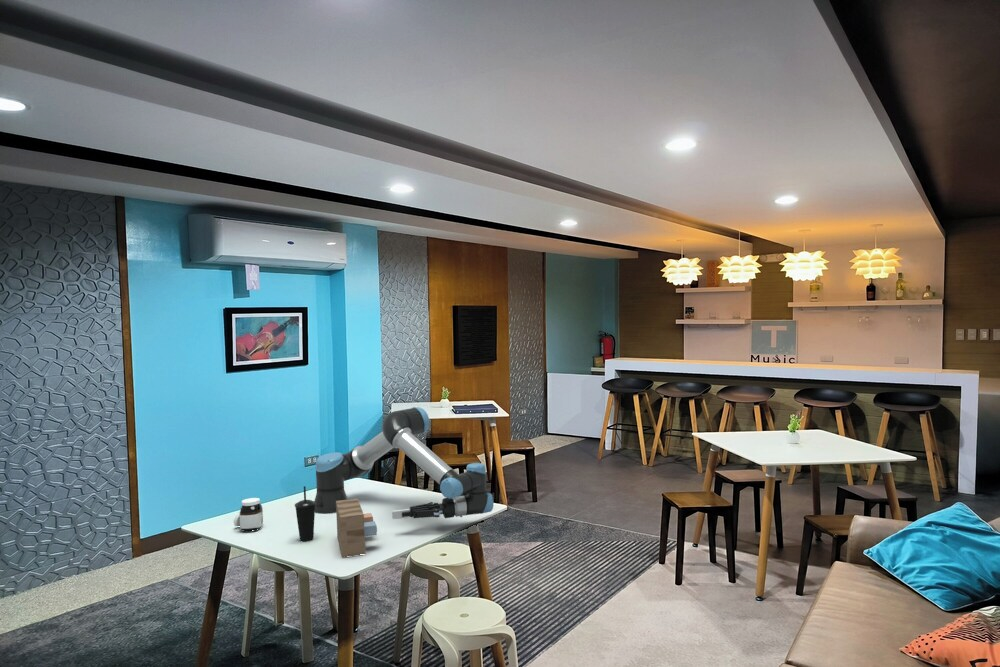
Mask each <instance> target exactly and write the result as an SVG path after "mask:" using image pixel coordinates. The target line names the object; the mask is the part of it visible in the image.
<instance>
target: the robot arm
mask: <svg viewBox="0 0 1000 667" xmlns="http://www.w3.org/2000/svg"><path fill="white" fill-rule="evenodd" d="M429 417H430V416H429V415H428V413H427V411H426V410H425V409H424V408H422V407H420V406H418V407H416V406H413V407H411V408H406V409H401V410H394V411H391V412H389V413H388V414H386V416H385V417H384V419H383V422H382V424H381V425H382V426H381V430H382V431H381V432H380V433H378V434H377V435H375V436H374V437H373V438H372V439H370V440H369V441H367V442H366V443H364V444H363V445H358V446H357V445H356V447H354V448H353V449H352V450H350V451H349V452H346V453H342V452H336V451H335V452H331V453H326V454H325V453H324V454H322V455H320V456H319V457H317V458H316V460H315V468H314V469H315V477H316V480H315V481H316V483H315V484H316V494H315V497H314V501H315V502H316V504H315V513H317V512H318V513H317V514H330V513H331V514H333V512H334V513H336V501H341V500H349V498H348V495H347V493H346V490H345V482H346V481H348V480H352V479H355V478H359V477H364V476H365V475H367V474H369V473H370V472H371V471H372V469H373V466H374V464H375V462H376V461H377V460H379V459H380V458H382V457H383V456H384V455H385V454H387V453H388V452H389V451H391V450H393V449H399V450H401V451H402V452H403V453H404V454H405V455H406V456H407V457H408V458H409V459H411V460H412V461H413V462H414V463H415V464H416V465H417V466H418V467H419V468H421V469H422V471H424V472H425V473H426V474H427V475H428V476H430V477H431V479H432V480H434V481H435V482H436V483H437V484H438V485H440V486H439V490H440V492H441V495H442V496H443V498H442V500H441V503H438V502H432V501H430V502H428V503H423V504H418V505H413V506H412V505H411V506H410V507H409V508H405V509H397V510H392V512H391V514H392V519H393V520H396V519H402V518H413V519H420V518H421V519H423V518H424V519H425V518H440V516H441V515H442V516H443V517H444V518H445V519H450V518H454V517H456V518H457V517H459V518H463V516H470V515H471V516H472V515H479V514H480V515H481V514H486V513H491V512H492V510H494V497H493V494H492V493H490V492H488V491H487V472H486V465H485V464H484V463H482V462H481V463H480V462H472V463H468V464H467V465H466V470H465V471H464V472H461V473H458V472H457V471H455V470H454V469H453V468H452V467H450V466H449V465H448V464H447V463H446V462H445V461H444V460H442V459H441V458H440V457H439V456H438V455H437V454H436V453H434V452H433V451H432V450H431V449H430V448H429V447H428V446H427V445H425V444H424V442H422V441H421V440H420V439H419V438H417V436H419V435H423V434H425V433H426V432H428V431H429V428H430V418H429ZM466 493H467V495H464V494H466Z"/></svg>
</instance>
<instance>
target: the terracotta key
mask: <svg viewBox="0 0 1000 667" xmlns="http://www.w3.org/2000/svg"><path fill="white" fill-rule="evenodd" d="M363 514H364V523H365V522H373V521H374V516H373V514H372V513H371V512H370V513H368V512H367V513H363Z"/></svg>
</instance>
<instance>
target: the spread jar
mask: <svg viewBox="0 0 1000 667" xmlns="http://www.w3.org/2000/svg"><path fill="white" fill-rule="evenodd" d="M263 512H264V511H263V506H262V504H261V499H260V498H259V497H250V498H245V499H243V500H241V507H240V511H239V512H237V514H236V515H235V517H234V519H233V526H235V527H236V526H240V527H239V528H240V530H241V531H242V530H244V531H252V530H257V529H260V528H261V527H262V528H263V526H264V513H263ZM262 528H261V529H262ZM261 529H260V530H261ZM244 531H243V532H244ZM257 531H258V530H257Z"/></svg>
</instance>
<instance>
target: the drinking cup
mask: <svg viewBox="0 0 1000 667" xmlns="http://www.w3.org/2000/svg"><path fill="white" fill-rule="evenodd" d="M306 493H307V489H306V486H303V499H302V500H300V501H298V502H296V503H294V507H295V512H296V522H297V527H298V535H299V536H298V537H299V541H300V542H301V541H302V543H306V542H307V541H308V542H310V541H313V540H314V533H315V514H316V512H315V504H316V502H315V500H311V499H307V494H306ZM308 542H307V543H308Z"/></svg>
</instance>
